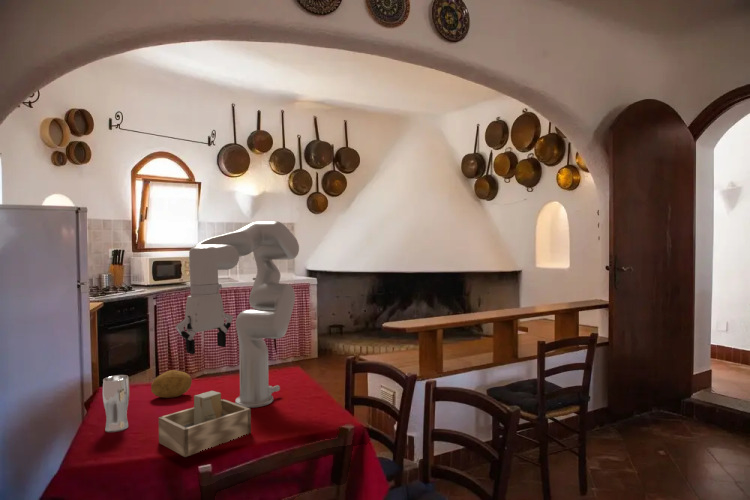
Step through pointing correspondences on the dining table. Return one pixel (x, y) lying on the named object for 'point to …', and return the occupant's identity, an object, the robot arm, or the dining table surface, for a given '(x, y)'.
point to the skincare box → (207, 407)
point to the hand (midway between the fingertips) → (206, 349)
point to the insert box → (203, 429)
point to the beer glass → (116, 402)
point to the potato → (171, 384)
